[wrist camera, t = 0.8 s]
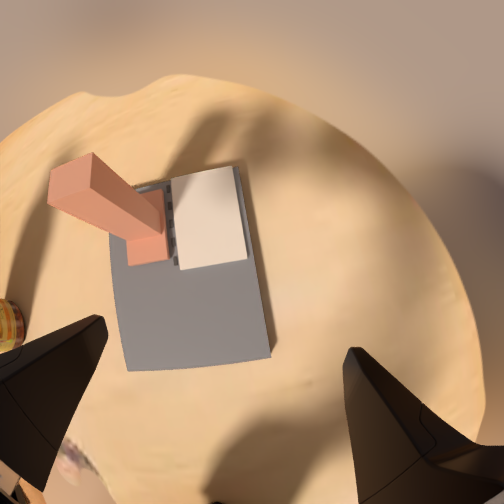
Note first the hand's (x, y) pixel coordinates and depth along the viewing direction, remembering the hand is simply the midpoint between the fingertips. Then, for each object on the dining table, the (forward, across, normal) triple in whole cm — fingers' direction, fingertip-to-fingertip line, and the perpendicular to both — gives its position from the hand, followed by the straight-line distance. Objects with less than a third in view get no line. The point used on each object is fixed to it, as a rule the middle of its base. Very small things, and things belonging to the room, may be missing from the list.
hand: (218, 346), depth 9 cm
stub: (+13, +9, +1) cm, 16 cm away
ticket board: (+13, +6, +4) cm, 15 cm away
